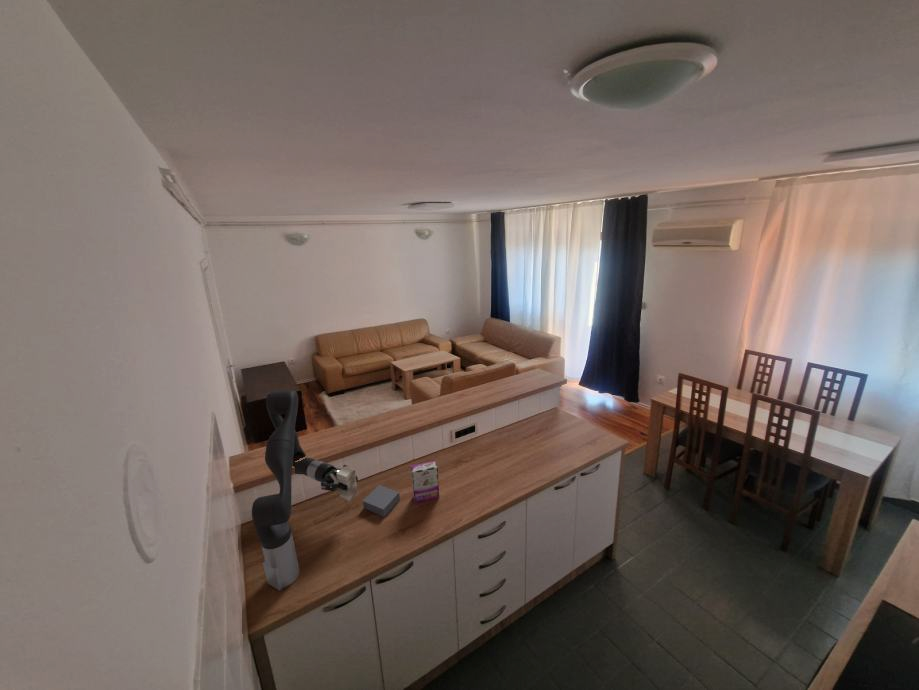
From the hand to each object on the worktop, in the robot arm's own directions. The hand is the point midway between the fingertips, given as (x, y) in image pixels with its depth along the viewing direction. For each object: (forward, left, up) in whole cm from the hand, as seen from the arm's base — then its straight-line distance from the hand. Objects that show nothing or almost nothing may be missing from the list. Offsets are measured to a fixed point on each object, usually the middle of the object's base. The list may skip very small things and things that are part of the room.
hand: (352, 483), depth 144 cm
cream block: (0, +3, -7) cm, 7 cm away
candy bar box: (+23, -19, -18) cm, 35 cm away
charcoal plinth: (+11, -4, -18) cm, 21 cm away
